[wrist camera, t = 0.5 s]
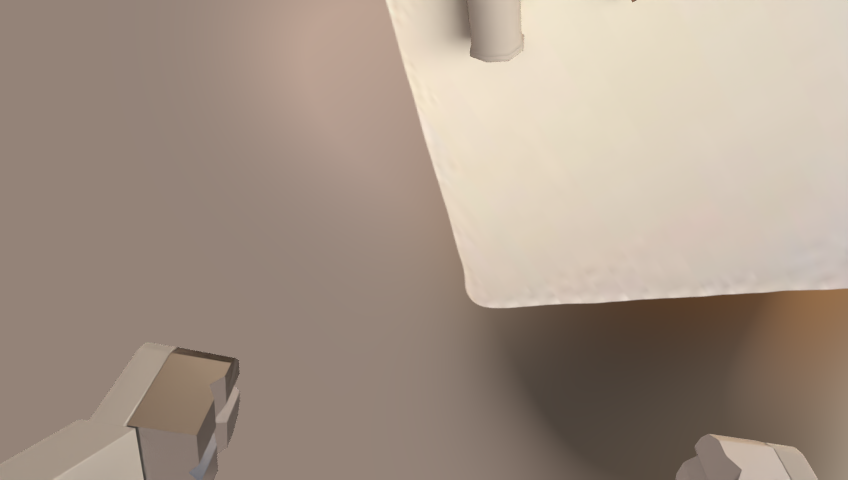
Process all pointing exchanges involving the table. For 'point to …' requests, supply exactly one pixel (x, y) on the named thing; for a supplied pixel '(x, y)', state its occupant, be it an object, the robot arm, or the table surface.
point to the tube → (495, 29)
